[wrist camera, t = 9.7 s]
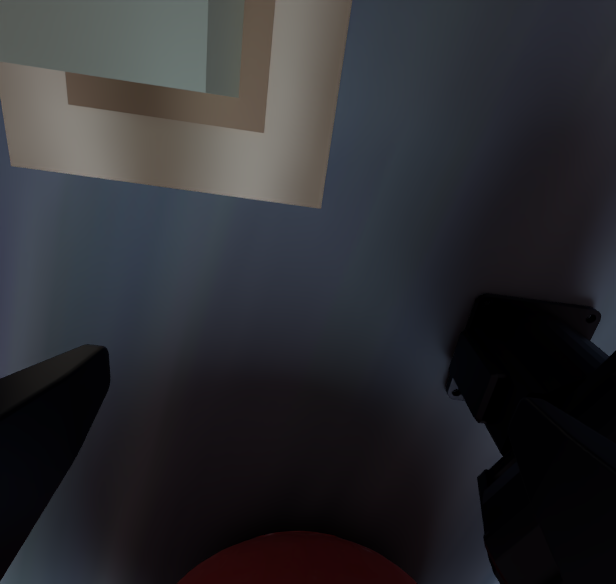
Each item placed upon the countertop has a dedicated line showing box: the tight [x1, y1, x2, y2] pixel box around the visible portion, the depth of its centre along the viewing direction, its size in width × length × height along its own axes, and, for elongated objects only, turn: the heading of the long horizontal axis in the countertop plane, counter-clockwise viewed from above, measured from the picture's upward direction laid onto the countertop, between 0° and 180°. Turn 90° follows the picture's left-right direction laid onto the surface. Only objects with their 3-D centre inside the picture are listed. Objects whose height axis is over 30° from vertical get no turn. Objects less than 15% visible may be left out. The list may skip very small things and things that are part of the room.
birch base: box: [0, 0, 352, 209], centre depth 15 cm, size 12×12×3 cm
